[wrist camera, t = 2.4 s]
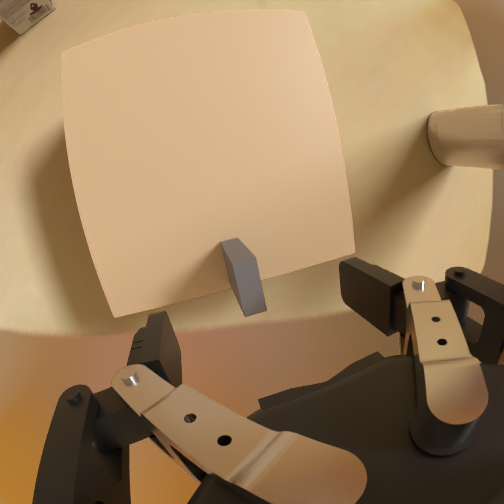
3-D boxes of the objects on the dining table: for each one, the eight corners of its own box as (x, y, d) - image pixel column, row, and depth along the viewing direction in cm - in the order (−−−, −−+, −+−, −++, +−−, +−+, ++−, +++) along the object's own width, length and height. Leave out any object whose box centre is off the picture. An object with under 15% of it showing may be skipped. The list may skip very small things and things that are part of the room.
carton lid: (300, 16, 16) (333, -20, 10) (348, 249, 21) (396, 271, 16) (66, 57, 12) (34, 24, 7) (117, 311, 18) (96, 357, 13)
